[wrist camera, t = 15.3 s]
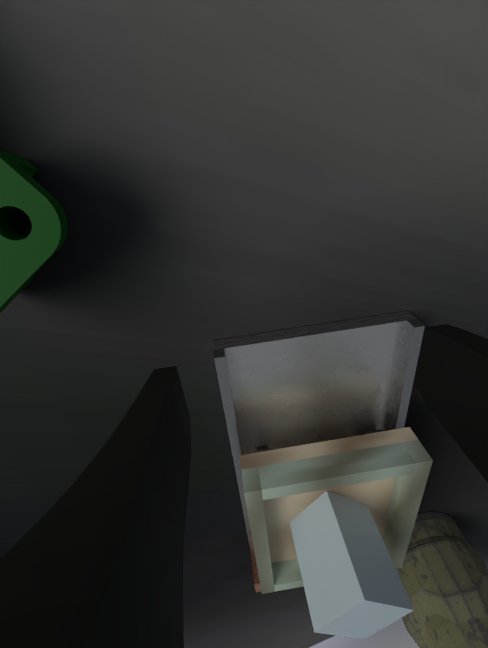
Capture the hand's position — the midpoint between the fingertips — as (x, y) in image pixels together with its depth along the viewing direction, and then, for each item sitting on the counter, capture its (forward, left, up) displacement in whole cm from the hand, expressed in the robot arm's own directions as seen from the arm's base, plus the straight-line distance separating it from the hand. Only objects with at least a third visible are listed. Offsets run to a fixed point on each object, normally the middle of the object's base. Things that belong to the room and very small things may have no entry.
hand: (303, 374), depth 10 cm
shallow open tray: (-3, +18, -8) cm, 20 cm away
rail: (-3, +16, -9) cm, 18 cm away
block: (-3, +18, -5) cm, 19 cm away
